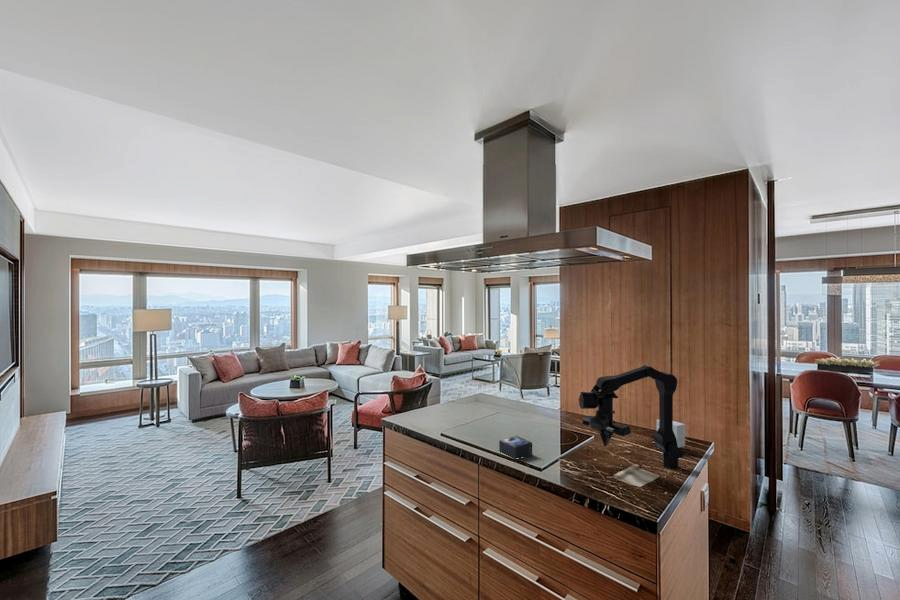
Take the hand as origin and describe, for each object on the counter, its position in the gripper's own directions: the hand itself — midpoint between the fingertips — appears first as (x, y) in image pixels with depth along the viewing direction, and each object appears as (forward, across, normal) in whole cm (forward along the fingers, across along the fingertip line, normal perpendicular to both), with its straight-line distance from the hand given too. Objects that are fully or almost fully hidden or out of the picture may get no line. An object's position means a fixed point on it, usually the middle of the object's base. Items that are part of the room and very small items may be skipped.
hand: (605, 445), depth 156 cm
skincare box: (+9, +5, +47) cm, 48 cm away
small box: (+5, -30, -17) cm, 34 cm away
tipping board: (+8, +9, 0) cm, 12 cm away
